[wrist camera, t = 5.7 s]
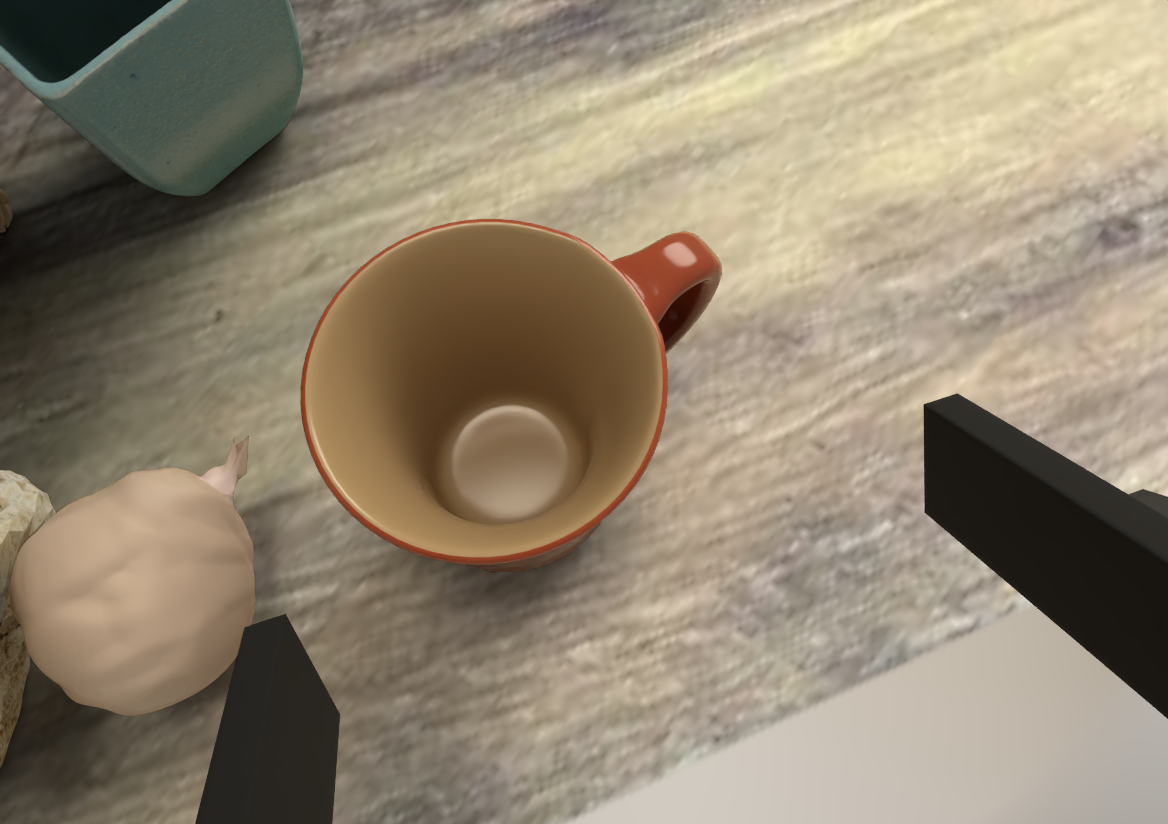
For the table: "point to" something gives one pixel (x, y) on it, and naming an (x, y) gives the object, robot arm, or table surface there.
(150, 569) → the garlic bulb
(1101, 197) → the table surface
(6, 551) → the decorative item
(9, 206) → the figurine
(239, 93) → the flower pot
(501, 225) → the mug
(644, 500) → the table surface
